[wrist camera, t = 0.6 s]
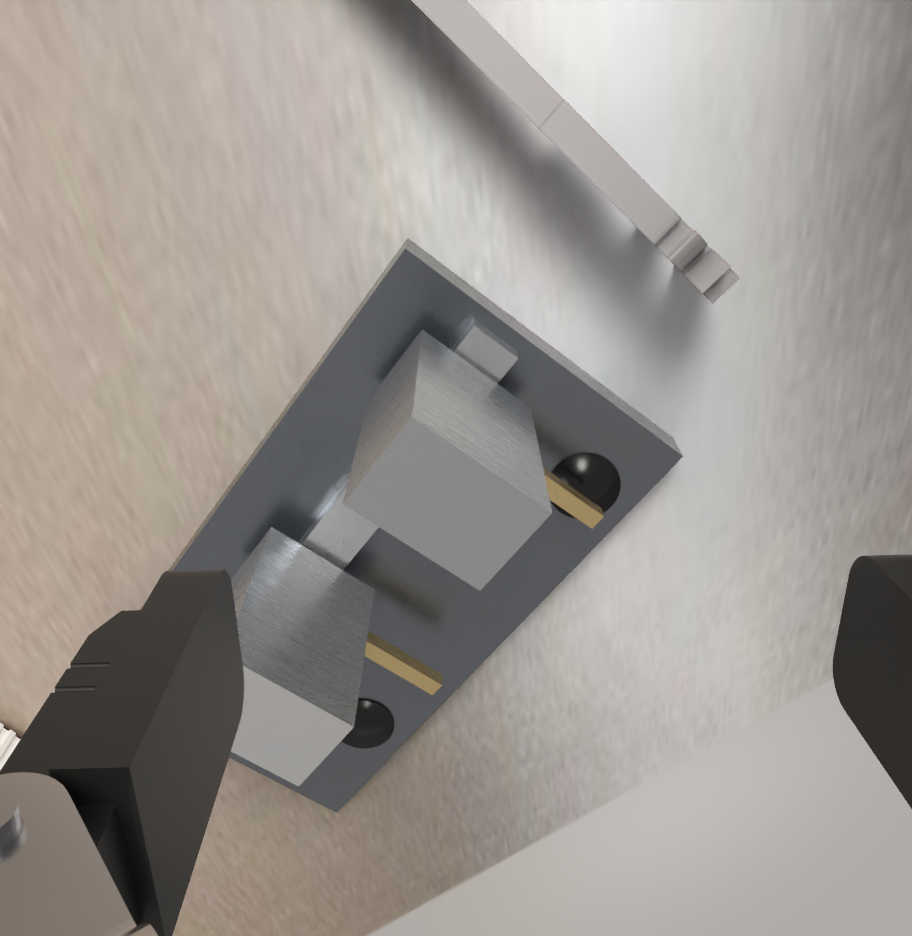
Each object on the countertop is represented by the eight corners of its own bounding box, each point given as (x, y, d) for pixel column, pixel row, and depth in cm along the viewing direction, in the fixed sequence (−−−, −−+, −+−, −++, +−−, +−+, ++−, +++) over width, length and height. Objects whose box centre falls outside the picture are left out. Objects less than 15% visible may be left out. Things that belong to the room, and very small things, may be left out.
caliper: (705, 248, 29) (767, 298, 23) (681, 273, 29) (736, 328, 23) (196, -274, 22) (110, -380, 17) (173, -234, 23) (81, -326, 17)
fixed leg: (422, 329, 27) (411, 416, 20) (621, 473, 29) (667, 591, 23) (368, 400, 28) (342, 503, 22) (564, 533, 30) (592, 662, 24)
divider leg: (271, 526, 30) (222, 654, 24) (461, 642, 32) (462, 786, 26) (228, 583, 31) (170, 720, 25) (415, 691, 33) (405, 841, 27)
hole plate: (407, 238, 28) (403, 254, 26) (673, 438, 31) (688, 466, 29) (103, 661, 36) (81, 698, 34) (340, 785, 39) (334, 827, 37)
